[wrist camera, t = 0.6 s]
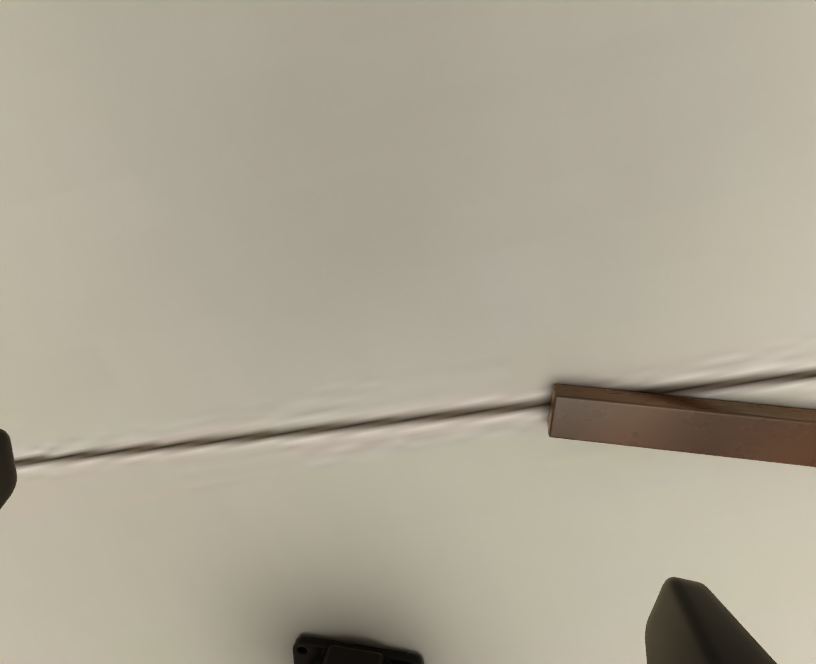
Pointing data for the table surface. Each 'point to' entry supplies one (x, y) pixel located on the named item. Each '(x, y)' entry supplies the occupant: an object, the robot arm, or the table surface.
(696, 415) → the wooden spoon
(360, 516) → the table surface
